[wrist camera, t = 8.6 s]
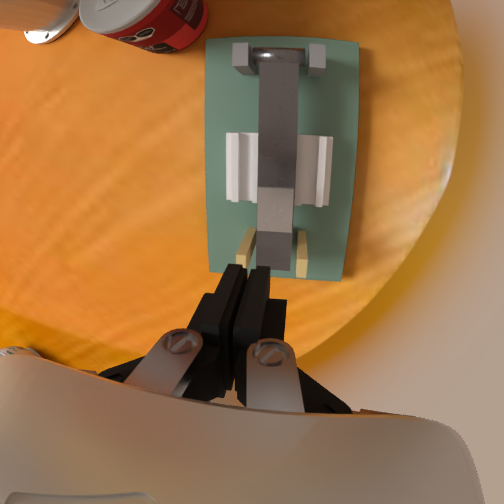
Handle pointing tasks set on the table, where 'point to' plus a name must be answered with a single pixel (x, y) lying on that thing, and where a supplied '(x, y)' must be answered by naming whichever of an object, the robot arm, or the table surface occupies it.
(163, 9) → the canned food
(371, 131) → the table surface
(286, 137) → the grey hinged clamp lever
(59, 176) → the table surface
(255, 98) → the clamp board
